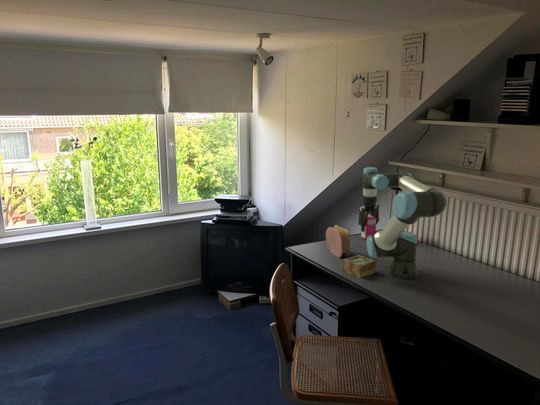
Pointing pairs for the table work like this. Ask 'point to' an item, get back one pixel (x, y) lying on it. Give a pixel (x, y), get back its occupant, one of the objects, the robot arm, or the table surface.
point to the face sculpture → (338, 241)
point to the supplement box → (370, 226)
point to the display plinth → (359, 266)
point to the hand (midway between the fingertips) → (368, 235)
